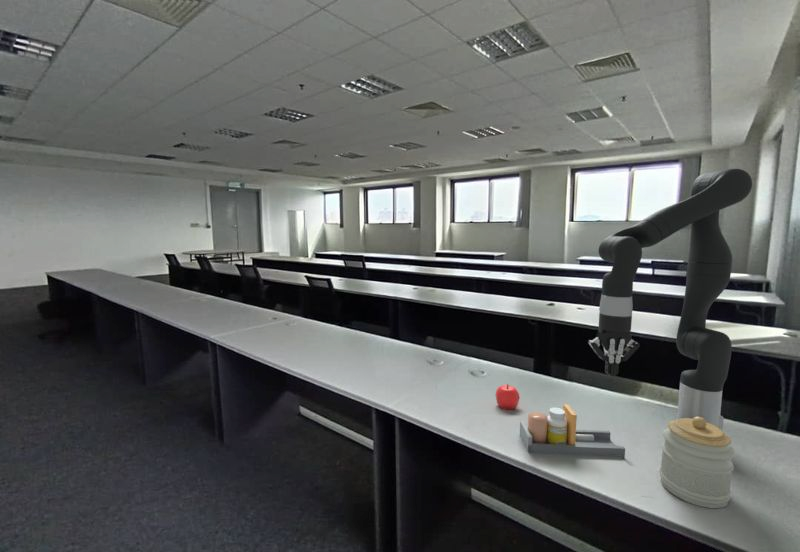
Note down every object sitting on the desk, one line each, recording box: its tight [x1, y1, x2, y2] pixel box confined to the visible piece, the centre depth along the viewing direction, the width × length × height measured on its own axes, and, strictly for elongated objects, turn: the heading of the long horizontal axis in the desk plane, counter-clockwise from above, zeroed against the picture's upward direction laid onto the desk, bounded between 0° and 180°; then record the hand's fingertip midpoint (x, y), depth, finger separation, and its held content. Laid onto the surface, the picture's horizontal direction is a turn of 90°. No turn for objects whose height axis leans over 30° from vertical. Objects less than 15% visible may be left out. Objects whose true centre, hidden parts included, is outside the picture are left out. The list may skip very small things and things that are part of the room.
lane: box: [519, 420, 626, 460], centre depth 105 cm, size 25×9×5 cm, turn 86°
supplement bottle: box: [547, 407, 567, 444], centre depth 105 cm, size 5×5×10 cm
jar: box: [659, 417, 736, 509], centre depth 87 cm, size 13×13×18 cm
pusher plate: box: [562, 403, 594, 445], centre depth 104 cm, size 7×6×10 cm
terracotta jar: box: [527, 411, 548, 444], centre depth 105 cm, size 5×5×8 cm
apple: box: [495, 383, 520, 411], centre depth 129 cm, size 8×8×8 cm
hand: (611, 375), depth 102 cm, fingers closed
